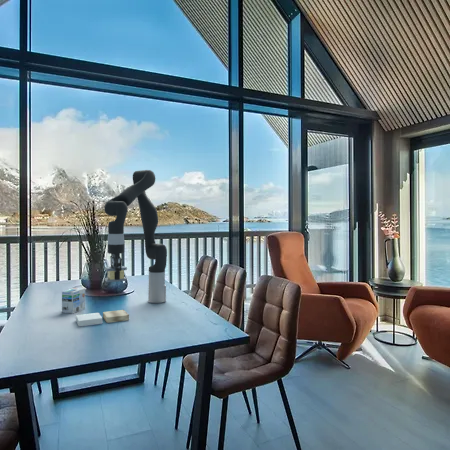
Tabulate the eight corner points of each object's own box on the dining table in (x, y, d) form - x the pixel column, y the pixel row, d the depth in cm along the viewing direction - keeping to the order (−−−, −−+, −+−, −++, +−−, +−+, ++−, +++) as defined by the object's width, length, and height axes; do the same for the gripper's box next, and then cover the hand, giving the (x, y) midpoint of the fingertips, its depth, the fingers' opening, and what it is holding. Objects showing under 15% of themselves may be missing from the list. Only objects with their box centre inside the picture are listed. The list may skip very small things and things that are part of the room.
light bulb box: (73, 313, 176) (73, 292, 176) (61, 312, 177) (61, 291, 177) (85, 308, 186) (85, 287, 186) (74, 307, 188) (74, 287, 187)
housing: (123, 278, 173) (124, 265, 172) (126, 280, 168) (126, 267, 168) (104, 280, 168) (104, 267, 168) (107, 282, 163) (107, 268, 163)
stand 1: (98, 317, 170) (98, 312, 170) (102, 323, 161) (102, 318, 161) (76, 320, 165) (76, 315, 165) (78, 326, 156) (78, 320, 156)
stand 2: (123, 314, 175) (123, 309, 175) (128, 320, 167) (128, 314, 167) (102, 317, 171) (102, 312, 171) (106, 322, 162) (107, 317, 162)
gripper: (127, 244, 163) (127, 280, 164) (120, 241, 176) (120, 275, 176) (110, 244, 159) (110, 281, 160) (104, 242, 172) (104, 276, 173)
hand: (115, 278), depth 168 cm, fingers closed on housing, 5 cm apart
